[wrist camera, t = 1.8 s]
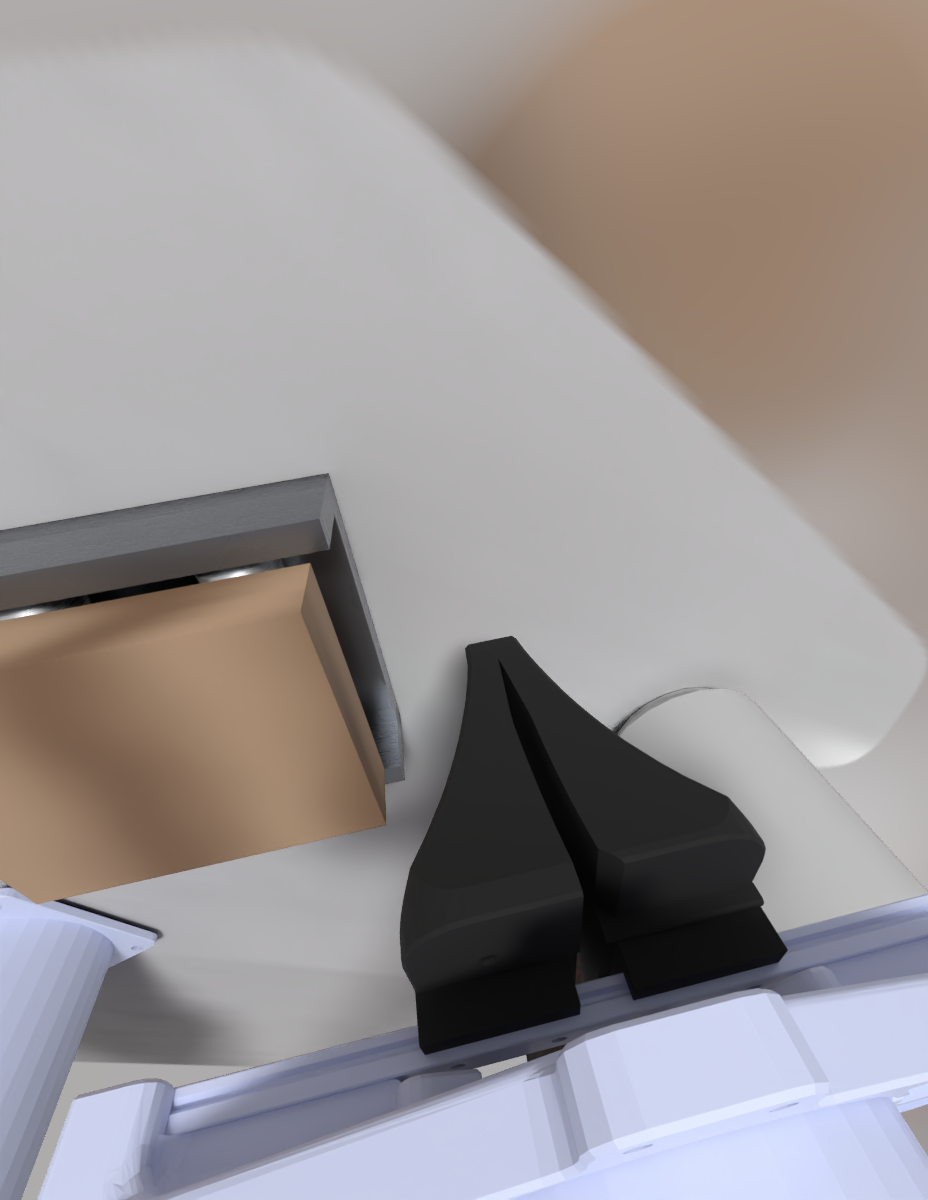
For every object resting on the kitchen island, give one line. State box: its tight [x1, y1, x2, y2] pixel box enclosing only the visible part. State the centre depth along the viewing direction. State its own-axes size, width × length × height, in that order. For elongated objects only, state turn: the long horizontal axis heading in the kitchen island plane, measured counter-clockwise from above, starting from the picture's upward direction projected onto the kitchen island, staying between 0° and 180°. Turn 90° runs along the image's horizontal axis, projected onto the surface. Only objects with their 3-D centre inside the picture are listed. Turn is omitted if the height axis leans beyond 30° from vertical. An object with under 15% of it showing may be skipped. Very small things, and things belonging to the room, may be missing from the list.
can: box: [618, 687, 928, 932], centre depth 18 cm, size 8×8×12 cm
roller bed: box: [0, 473, 405, 784], centre depth 13 cm, size 20×10×6 cm, turn 97°
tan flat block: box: [0, 563, 386, 904], centre depth 12 cm, size 10×8×2 cm
